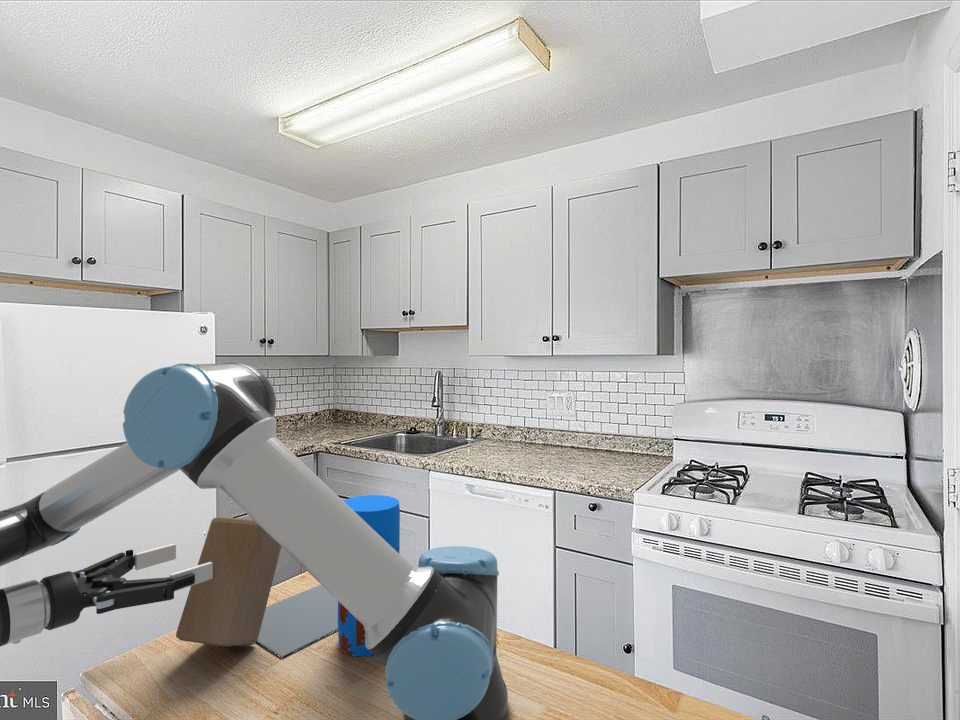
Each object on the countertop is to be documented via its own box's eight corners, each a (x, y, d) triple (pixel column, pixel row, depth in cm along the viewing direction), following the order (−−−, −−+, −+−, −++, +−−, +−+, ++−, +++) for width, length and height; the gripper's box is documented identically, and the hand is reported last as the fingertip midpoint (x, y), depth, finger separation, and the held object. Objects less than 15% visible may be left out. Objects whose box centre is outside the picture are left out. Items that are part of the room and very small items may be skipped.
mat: (376, 611, 107) (376, 609, 107) (281, 658, 91) (281, 656, 91) (320, 586, 118) (320, 584, 118) (227, 624, 102) (227, 622, 102)
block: (225, 647, 86) (260, 519, 94) (171, 639, 88) (210, 515, 96) (258, 646, 94) (288, 529, 103) (208, 639, 96) (241, 525, 105)
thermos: (381, 619, 104) (382, 491, 104) (410, 643, 96) (411, 504, 96) (327, 637, 98) (328, 501, 97) (353, 664, 89) (355, 515, 89)
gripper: (18, 605, 85) (161, 563, 102) (71, 661, 70) (228, 601, 87) (18, 558, 85) (161, 524, 102) (70, 605, 70) (228, 556, 87)
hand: (192, 560), depth 95 cm, fingers open, 13 cm apart
